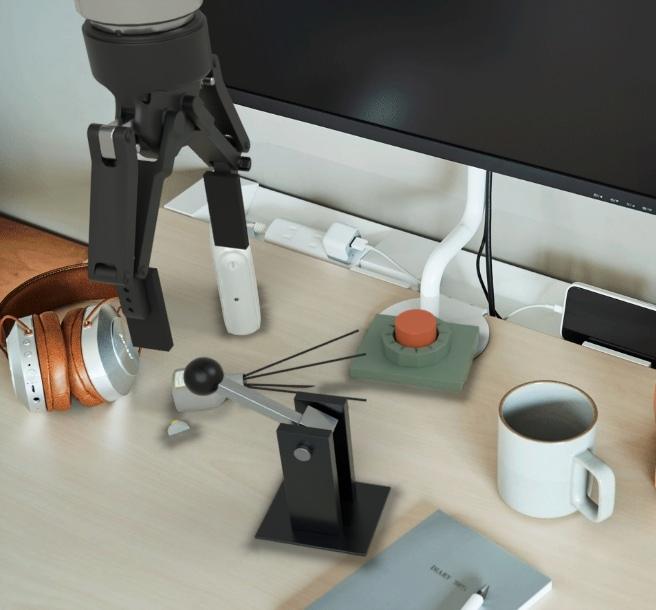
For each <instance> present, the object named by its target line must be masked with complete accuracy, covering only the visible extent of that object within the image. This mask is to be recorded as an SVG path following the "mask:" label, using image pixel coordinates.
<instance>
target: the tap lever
mask: <svg viewBox="0 0 656 610" xmlns="http://www.w3.org/2000/svg"><path fill="white" fill-rule="evenodd" d="M185 367H186V368H185ZM185 367H184V368H185V370H184V374H183V380H184V384H185V386H186V387H187V389H188V390H189V391H190V392H191V393H193V394H195V395H198V396H208V395H211V394H213V393H215V392H216V393H218V394H220V395H222V396H225V397H227V398H226V399H229V400H230V401H233V402H235V403H237V404H239V405H241V406H244V407H246V408H248V409H250V410H252V411H254V412H256V413H258V414H260V415H262V416H264V417H266V418H268V419H270V420H273V421H274V422H277V423H278V424H280V423H286V424H293V425H300V426H307V427H314V428H321V429H327V430H332V433H333V431H334V428H335V426H336V424H337V422H338V419H336V418H334V417H331V416H329V415H327V414H325V413H323V412H321V411H319V410H317V409H315V408H313V407H311V406H309V405H308V406H307V408H306V410H305V412H304V414H301V413H299V412H297V411H295V409H292V408H291V407H289V406H286V405H284V404H282V403H280V402H278V401H276V400H274V399H272V398H270V397H268V396H265V395H263V394H261V393H259V392H258V391H256V390H254V389H250V388H247V387H245V386H243V385H241V384H239V383H237V382H235V381H233V380H231V379H229V378H226V377H224V373H225V371H224V369H223V366H222V365H221V363H220V362H219V361H217V360H216V359H214V358H213V357H209V356H200V357H196V358H194V359H192V360H191V361H190V362H188V364H187V365H186V366H185Z"/></svg>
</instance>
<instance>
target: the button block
mask: <svg viewBox="0 0 656 610" xmlns="http://www.w3.org/2000/svg"><path fill="white" fill-rule="evenodd" d="M397 316H398V315H390V314H383V313H375V315H374V316H373V319H372V321H371V322H370V325H369V327H368V329H367V331H366V334H365V336H364V338H363V340H362V342H361V344H360V345H359V348H358V350H357V351H356V354H355V355H357V354H362V353H366V355H365V356H360V357H355V358H353V360H352V362H351V364H350V366H349V376H350V378H356V379H362V380H369V381H370V380H371V381H378V382H384V383H386V382H387V383H393V384H400V385H407V386H415V387H421V388H427V389H428V388H430V389H437V390H444V391H449V392H458V393H461V392H462V389H463V387H464V384H466V383H467V380H468V377H469V373H470V370H471V368H472V365H473V361H474V359H475V355H476V352H477V349H478V345H479V342H480V326H478V325H471V324H465V323H464V324H462V323H455V322H447V321H445V320H443V319H440V318H439V317H437V316H435V318H436V339H435V341H434V342H433V343H432V344H430V345H429V346H424V347H419V348H411V347H404V346H402V345H401V344H399V343H398V342H397V340H396V336H395V319H396V317H397Z"/></svg>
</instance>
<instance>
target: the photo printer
mask: <svg viewBox="0 0 656 610" xmlns="http://www.w3.org/2000/svg"><path fill="white" fill-rule="evenodd" d="M208 225H209V227H208V237H209V238H208V239H209V246H210V253H211V261H212V263H213V268H214V274H215V279H216V284H217V289H218V296H219V300H220V306H221V311H222V317H223V322H224V325H225V328H226V331H227V333H228V334H231V335H235V336H247V335H251V334H253V333H255V332H257V330H260V328H261V320H262V319H261V307H260V300H259V291H258V285H257V284H258V283H257V276H256V271H255V266H254V259H253V253H252V248H251V242H250V240H249V246H248V248H247V249H246V250H243V249H235V248H227V247H220V246H215V245H214V239H213V233H212V227H211V221H209V224H208ZM247 231H248V232H249V230H248V228H247ZM248 238H249V239H250V235H249V234H248Z"/></svg>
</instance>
